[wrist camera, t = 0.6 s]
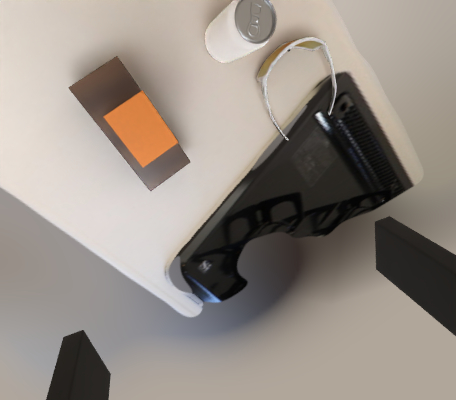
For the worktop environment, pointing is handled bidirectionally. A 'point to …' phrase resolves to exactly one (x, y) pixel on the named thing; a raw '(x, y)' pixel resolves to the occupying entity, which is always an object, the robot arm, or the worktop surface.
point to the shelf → (112, 98)
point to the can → (240, 29)
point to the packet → (141, 129)
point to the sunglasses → (268, 64)
